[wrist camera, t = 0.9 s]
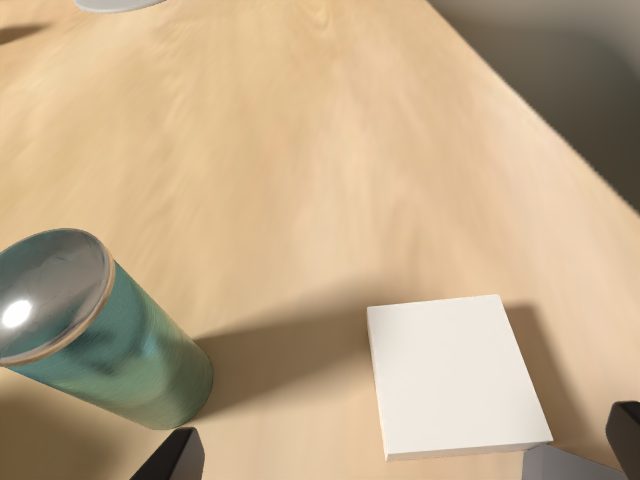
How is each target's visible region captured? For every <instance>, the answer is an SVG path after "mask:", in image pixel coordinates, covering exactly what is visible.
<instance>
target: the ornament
mask: <svg viewBox="0 0 640 480" xmlns="http://www.w3.org/2000/svg"><path fill="white" fill-rule="evenodd" d="M164 1H166V0H74V3H75V5H76V7H77V8H79V9H80V10H83V11H85V12H89V13H97V14H112V13H122V12H128V11H134V10H138V9H142V8H146V7H149V6H152V5H155V4H158V3H161V2H164Z"/></svg>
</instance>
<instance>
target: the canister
mask: <svg viewBox="0 0 640 480" xmlns="http://www.w3.org/2000/svg"><path fill="white" fill-rule="evenodd" d="M0 367H5V368H8V369H10V370H12V371H15V372H17V373H19V374H22V375H24V376H26V377H29V378H31V379H34V380H36V381H38V382H41V383H43V384H45V385H48V386H50V387H52V388H55V389H57V390H60V391H62V392H64V393H67V394H69V395H71V396H74V397H76V398H78V399H81V400H83V401H86V402H88V403H90V404H93V405H95V406H97V407H100V408H102V409H105V410H107V411H109V412H112V413H114V414H116V415H119V416H121V417H123V418H126V419H128V420H131V421H133V422H135V423H138V424H140V425H142V426H145V427H147V428H150V429H153V430H169V429H173V428H175V427H178V426H180V425H182V424H184V423H186V422H187V421H189V420H190V419H191V418H192V417H193V416H195V415H196V414H197V413H198V411H199V410H200V409H201V408H202V406H203V405H204V403H205V402H206V400H207V398H208V396H209V394H210V391H211V388H212V383H213V370H212V365H211V362H210V360H209V358H208V356H207V355H206V354H205V353H204V352H203V351H202V350H201V349H200V348H199V346H198V345H197V344H196V343H195V342H194V341H193V340H192V339H191V338H190V337H189V336H188V335H187V334H186V333H185V332H184V331H183V330H182V329H181V328H180V327H179V326H178V325H177V324H176V323H175V322H174V321H173V320H172V319H171V318H170V317H169V316H168V315H167V314H166V312H165V311H164V310H163V309H162V308H161V307H160V306H159V305H158V304H157V303H156V302H155V301H154V300H153V299H152V298H151V297H150V296H149V295H148V294H147V293H146V292H145V291H144V290H143V289H142V288H141V287H140V286H139V285H138V284H137V283H136V282H135V281H134V280H133V278H132V277H131V276H130V275H129V274H128V273H127V272H126V271H125V270H124V269H123V268H122V267H121V266H120V265H119V264H118V263H117V262H116V261H115V260H114V259H113V257H112V255H111V253H110V252H109V250H108V249H107V248H106V247H105V246H104V245H103V244H102V243H101V242H100V241H99V240H98V239H97V238H96V237H95V236H93V235H92V234H90V233H88V232H86V231H83V230H79V229H71V228H61V229H53V230H48V231H44V232H41V233H38V234H34V235H32V236H30V237H27V238H25V239H23V240H21V241H19V242H17V243H15V244H13V245H12V246H10V247H8V248H7V249H5V250H4V251H2V252H1V253H0Z"/></svg>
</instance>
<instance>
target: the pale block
mask: <svg viewBox="0 0 640 480" xmlns="http://www.w3.org/2000/svg"><path fill="white" fill-rule="evenodd" d="M367 330H368V337H369V344H370V351H371V359H372V366H373V373H374V380H375V387H376V394H377V402H378V409H379V416H380V423H381V430H382V437H383V444H384V452H385V459H386V461H398V460H410V459H423V458H435V457H448V456H461V455H473V454H486V453H498V452H511V451H523V450H531V449H533V448H535V447H538V446H540V445H542V444H547V443H549V442H552V441H554V440H553V437H552V435H551V432H550V429H549V427H548V424H547V421H546V419H545V416H544V413H543V411H542V408H541V405H540V403H539V400H538V397H537V395H536V392H535V389H534V387H533V384H532V381H531V379H530V376H529V374H528V371H527V368H526V366H525V363H524V360H523V358H522V355H521V352H520V350H519V347H518V344H517V342H516V339H515V336H514V334H513V331H512V328H511V326H510V323H509V320H508V318H507V315H506V312H505V310H504V307H503V305H502V302H501V299H500V297H499V294H494V295H484V296H474V297H464V298H453V299H443V300H433V301H423V302H413V303H402V304H392V305H382V306H372V307H367Z"/></svg>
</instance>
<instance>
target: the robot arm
mask: <svg viewBox="0 0 640 480" xmlns="http://www.w3.org/2000/svg"><path fill="white" fill-rule="evenodd" d="M605 429H606V436H607V439H608V441H609V443H610V445H611V447H612V449H613V451H614V453H615V455H616V457H617V459H618V461H619V463H620V465H621V467H622V469H623V471H624V473H625V475H626V477H627V479H628V480H640V402H637V401H618V402H615V403H614V404H613V405H612V408H611V411H610V414H609V417H608V421H607V424H606V428H605ZM204 460H205V453H204V448H203V446H202V443H201V440H200V437H199V434H198V431H197V429H196V428H195V427H180V428H177V429H176V430H174V431H173V432H172V433H171V434H170V436H169V437H168V438H167V439H166V440H165V441H164V442H163V443H162V444H161V445H160V447H159V448H158V449H157V450H156V451H155V452H154V453H153V454H152V455H151V456H150V458H149V459H148V460H147V461H146V462H145V463H144V464H143V465H142V466H141V467H140V469H139V470H138V471H137V472H136V473H135V474H134V475H133V476H132V477H131V478H130V480H201V478H202V473H203V467H204Z"/></svg>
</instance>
